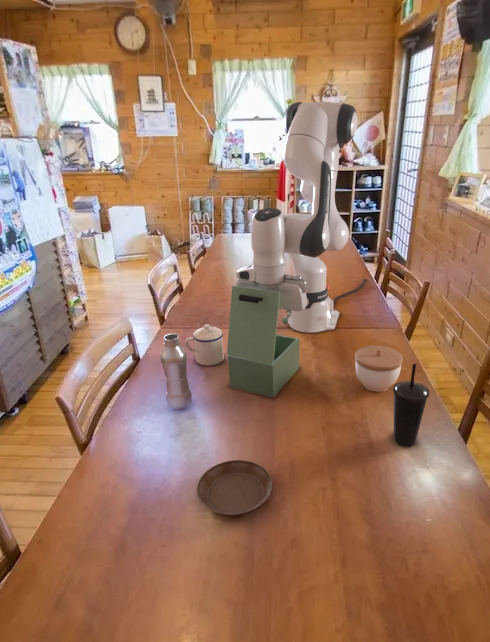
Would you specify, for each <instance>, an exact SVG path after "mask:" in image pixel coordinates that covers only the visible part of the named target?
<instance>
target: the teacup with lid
mask: <svg viewBox="0 0 490 642" xmlns="http://www.w3.org/2000/svg"><path fill="white" fill-rule="evenodd" d="M223 336H224V332H223V330H221V328H218V327H216V326H211V324H208V323H207V324H204V325H203V326H202V327H200V328H198V329H195V331H194V332H193V334H192V336H190V337H187V338H186V339H185V341H184V345H185V346H184V347H185V348H186V349H187V351H189V352H191V353H194V354H195V361H196V363H198V364H199V365H202V366H206V367H209V366H215V365H218V364H220V363H222V362H224V359H225V353H224V340H223V338H224V337H223ZM189 341H193V343H194V344H193V345H194V349H193V348H192V347H191V346H190V345H189Z"/></svg>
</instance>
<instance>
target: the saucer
mask: <svg viewBox="0 0 490 642" xmlns="http://www.w3.org/2000/svg"><path fill="white" fill-rule="evenodd" d="M272 490H273V479H272V476H271V475H270V473H269V471H268V470H267V469H266V468H265V467H264V466H262V465H261V464H259V463H256V462H254V461H252V460H251V461H250V460H246V459H244V460H243V459H231V460H226V461H223V462H220V463H217V464H215V465H213V466H211V467H210V468H208V469H207V470H206V471H205V472H203V474H202V475H201V476H200V478H199V479H198V482H197V485H196V495H197V497H198V500H199V502H200V503H201V504H202V505H203V506H204V507H205V508H206V509H208V510H209V511H211V512H213V513H215V514H218V515H221V516H226V517H236V516H242V515H246V514H249V513H251V512H253V511H255V510H256V509H258V508H259V507H261V506H262V505H263V504H264V503H265V502H266V501H267V500H268V498H269V497H270V495H271V494H272Z"/></svg>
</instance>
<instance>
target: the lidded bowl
mask: <svg viewBox="0 0 490 642" xmlns="http://www.w3.org/2000/svg"><path fill="white" fill-rule="evenodd" d="M403 361H404V358H403V355H402V354H401V353H400V352H399V351H397V349H395V348H392V347H388V346H384V345H366V346H363V347H360V348H359V349H357V350H356V352H355V353H354V368H355V374H356V377H357V379H358V381H359V382H360V383H361V384H362V385H363V387H364V388H365V389H367V390H368V391H371V392H385V391H387V390H388V389H389V388H390V387H392V386H394V385H395V384H396V383H397V381H398V379H399V377H400V376H401V375H400V374H401V371H402V365H403Z"/></svg>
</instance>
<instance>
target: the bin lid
mask: <svg viewBox="0 0 490 642" xmlns="http://www.w3.org/2000/svg"><path fill="white" fill-rule="evenodd" d="M279 303H280V293H278V292H271V291H265V290H258V289H252V288H245V287H239V286H236V285H232V286H231V297H230V307H229V321H228V322H229V323H228V333H227V334H228V335H227V349H226V355H227V356H228V355H231V356H235V357H240V358H244V359H249V360H253V361H258V362H262V363H266V364H271V365H273V362H274V352H275V342H276V334H277V331H278V321H279V311H280V308H279Z"/></svg>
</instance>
